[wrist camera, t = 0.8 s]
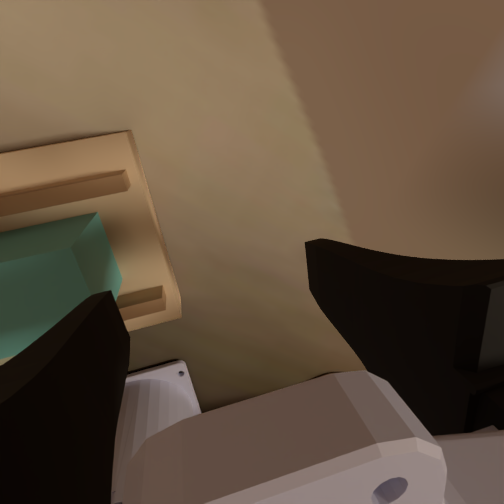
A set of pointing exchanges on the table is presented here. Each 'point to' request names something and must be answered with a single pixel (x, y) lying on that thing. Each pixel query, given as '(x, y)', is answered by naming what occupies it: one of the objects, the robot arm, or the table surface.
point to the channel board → (108, 207)
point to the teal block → (51, 276)
